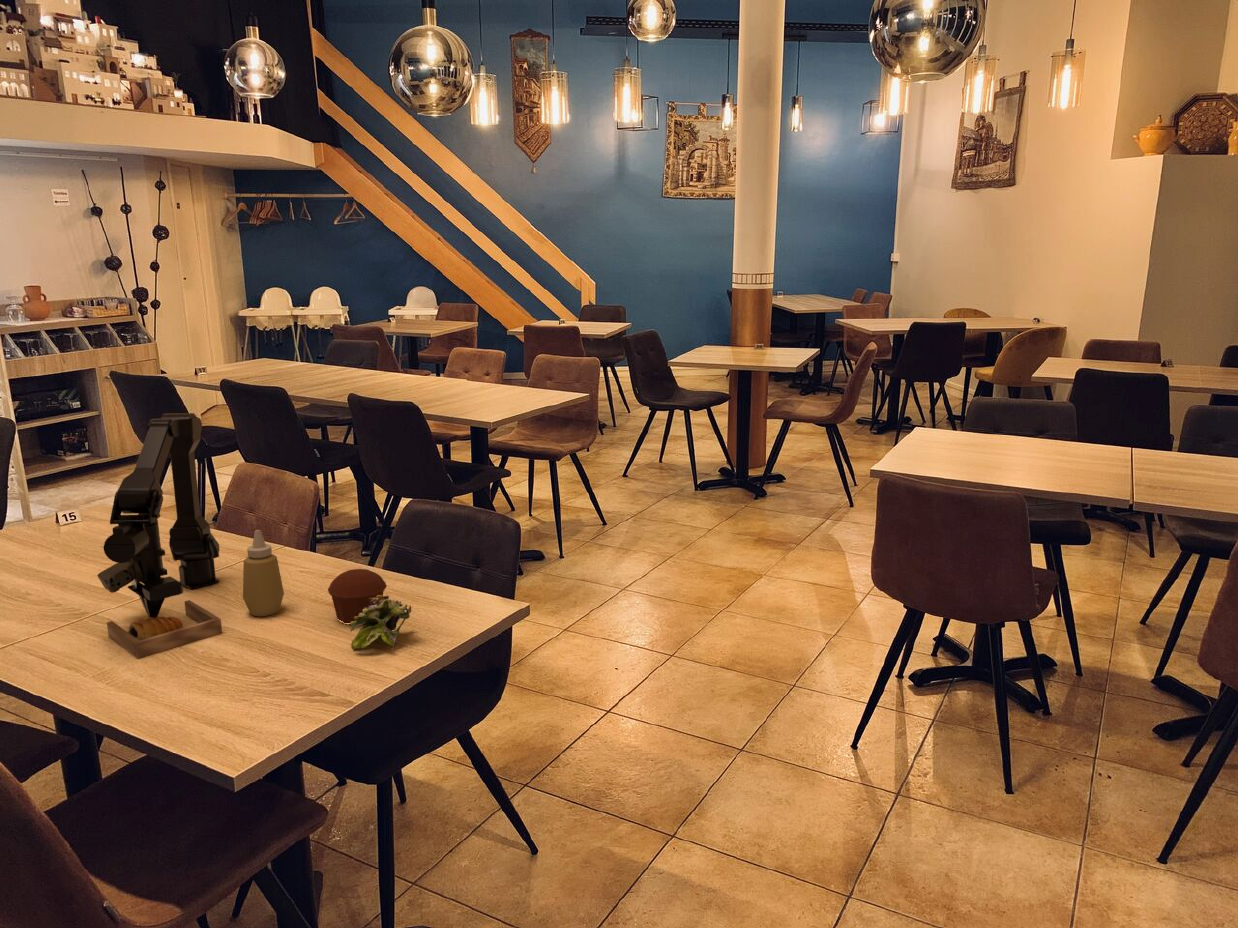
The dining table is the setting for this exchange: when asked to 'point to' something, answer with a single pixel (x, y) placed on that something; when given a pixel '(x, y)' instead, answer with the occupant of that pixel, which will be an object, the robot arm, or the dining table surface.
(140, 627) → the pastry
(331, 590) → the muffin
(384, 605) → the green leafy plant
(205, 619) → the box
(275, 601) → the squeeze bottle
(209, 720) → the dining table surface
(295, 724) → the dining table surface
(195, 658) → the dining table surface
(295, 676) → the dining table surface
